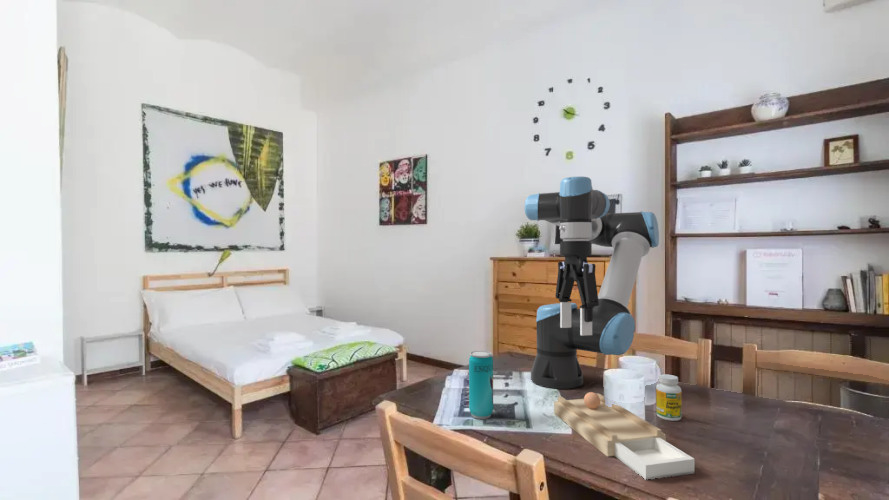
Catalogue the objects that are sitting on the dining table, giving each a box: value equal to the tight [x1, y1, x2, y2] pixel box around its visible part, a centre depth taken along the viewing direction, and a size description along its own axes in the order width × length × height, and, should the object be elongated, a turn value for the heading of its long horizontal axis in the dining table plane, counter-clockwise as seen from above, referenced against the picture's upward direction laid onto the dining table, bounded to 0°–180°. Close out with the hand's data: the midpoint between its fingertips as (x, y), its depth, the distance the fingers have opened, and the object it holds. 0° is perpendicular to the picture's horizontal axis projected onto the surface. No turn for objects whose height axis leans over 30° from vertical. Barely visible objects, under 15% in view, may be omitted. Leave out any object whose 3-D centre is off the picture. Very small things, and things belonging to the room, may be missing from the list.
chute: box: [553, 392, 667, 457], centre depth 96 cm, size 22×13×4 cm, turn 13°
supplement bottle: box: [655, 373, 683, 422], centre depth 104 cm, size 5×5×10 cm
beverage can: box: [468, 350, 494, 420], centre depth 105 cm, size 6×6×15 cm
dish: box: [613, 437, 696, 481], centre depth 82 cm, size 10×10×3 cm
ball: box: [583, 391, 600, 409], centre depth 101 cm, size 4×4×4 cm
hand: (575, 331), depth 108 cm, fingers open, 9 cm apart
